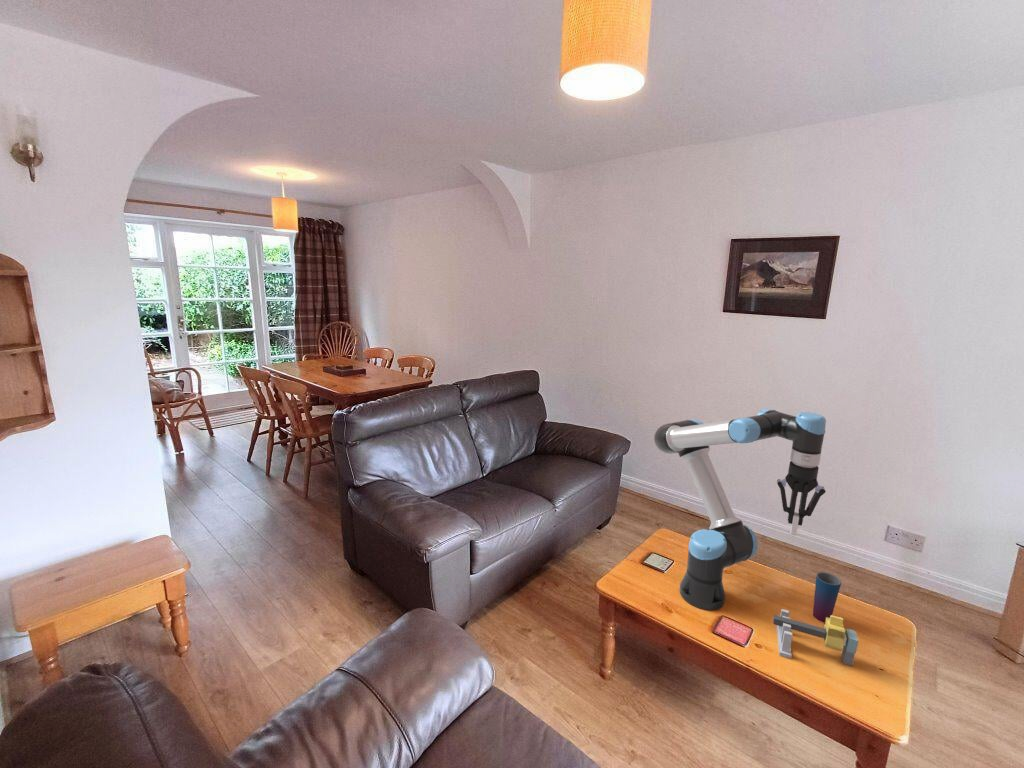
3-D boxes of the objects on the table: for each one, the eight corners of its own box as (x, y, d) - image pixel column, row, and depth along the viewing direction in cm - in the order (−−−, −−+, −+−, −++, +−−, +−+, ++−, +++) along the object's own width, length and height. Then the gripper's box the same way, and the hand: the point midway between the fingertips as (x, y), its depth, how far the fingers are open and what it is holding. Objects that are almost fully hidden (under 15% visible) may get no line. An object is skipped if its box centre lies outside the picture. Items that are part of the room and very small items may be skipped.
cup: (826, 627, 149) (833, 587, 146) (805, 614, 155) (812, 575, 151) (838, 620, 152) (845, 581, 149) (817, 607, 158) (823, 569, 155)
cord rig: (771, 653, 139) (775, 627, 137) (769, 624, 150) (773, 600, 148) (856, 679, 130) (861, 651, 128) (846, 646, 141) (851, 621, 139)
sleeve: (825, 646, 135) (830, 620, 133) (822, 635, 140) (827, 609, 138) (841, 651, 134) (846, 625, 132) (838, 639, 138) (843, 614, 136)
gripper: (780, 463, 139) (770, 533, 144) (832, 471, 133) (819, 544, 138) (778, 455, 145) (768, 522, 151) (827, 462, 140) (815, 532, 145)
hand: (793, 532), depth 145 cm, fingers closed
